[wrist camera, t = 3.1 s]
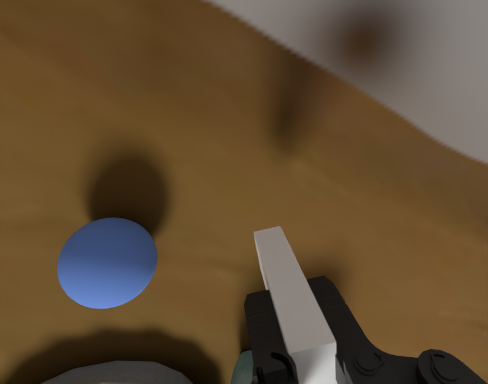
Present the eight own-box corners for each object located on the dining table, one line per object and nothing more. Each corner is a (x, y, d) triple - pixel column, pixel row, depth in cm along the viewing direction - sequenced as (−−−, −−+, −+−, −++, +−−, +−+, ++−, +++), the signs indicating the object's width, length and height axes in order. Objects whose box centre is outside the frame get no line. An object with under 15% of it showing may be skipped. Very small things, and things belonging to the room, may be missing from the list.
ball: (102, 272, 19) (67, 339, 14) (68, 212, 17) (11, 268, 12) (172, 256, 20) (161, 316, 15) (148, 195, 17) (125, 242, 12)
